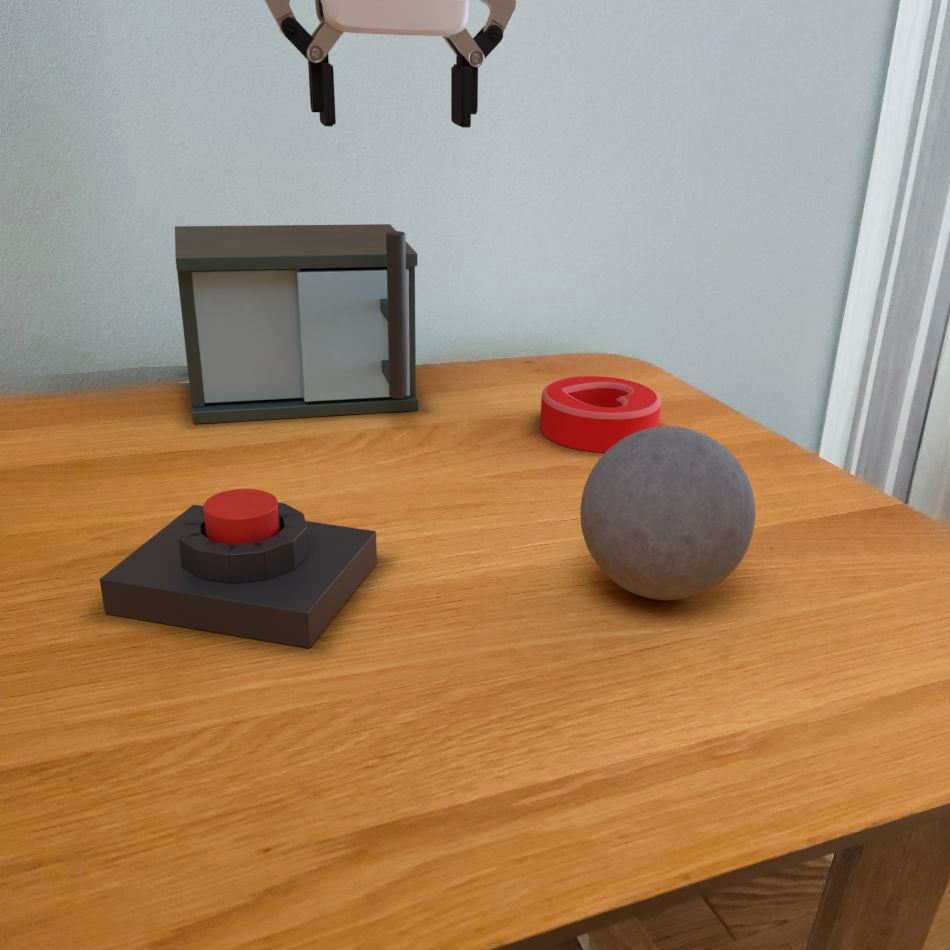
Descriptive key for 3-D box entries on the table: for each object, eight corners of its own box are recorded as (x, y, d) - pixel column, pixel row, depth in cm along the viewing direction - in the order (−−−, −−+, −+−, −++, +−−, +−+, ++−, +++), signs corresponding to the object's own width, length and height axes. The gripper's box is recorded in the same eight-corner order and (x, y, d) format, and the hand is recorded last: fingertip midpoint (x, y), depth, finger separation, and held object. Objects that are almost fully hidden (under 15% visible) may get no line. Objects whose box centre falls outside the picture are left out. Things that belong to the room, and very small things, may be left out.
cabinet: (193, 424, 83) (175, 257, 78) (190, 376, 94) (174, 226, 88) (418, 410, 89) (417, 253, 83) (392, 367, 99) (390, 224, 93)
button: (192, 541, 58) (189, 513, 57) (227, 512, 62) (225, 484, 61) (260, 552, 57) (257, 523, 57) (291, 521, 61) (289, 493, 60)
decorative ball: (771, 623, 60) (799, 461, 56) (605, 641, 58) (620, 472, 53) (703, 544, 69) (722, 398, 64) (555, 557, 66) (564, 405, 62)
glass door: (312, 425, 81) (301, 235, 75) (303, 399, 86) (293, 219, 80) (422, 418, 83) (422, 234, 77) (408, 393, 88) (406, 219, 82)
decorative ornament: (531, 410, 90) (533, 374, 89) (641, 409, 92) (645, 374, 90) (550, 453, 82) (552, 414, 80) (671, 451, 83) (675, 413, 82)
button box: (104, 614, 58) (94, 549, 56) (196, 535, 67) (190, 477, 65) (309, 648, 56) (306, 582, 54) (377, 563, 65) (375, 503, 63)
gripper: (502, -143, 74) (497, 120, 82) (246, -164, 69) (267, 118, 76) (535, -155, 67) (526, 132, 75) (255, -180, 62) (277, 130, 70)
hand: (395, 124), depth 76 cm, fingers open, 9 cm apart
